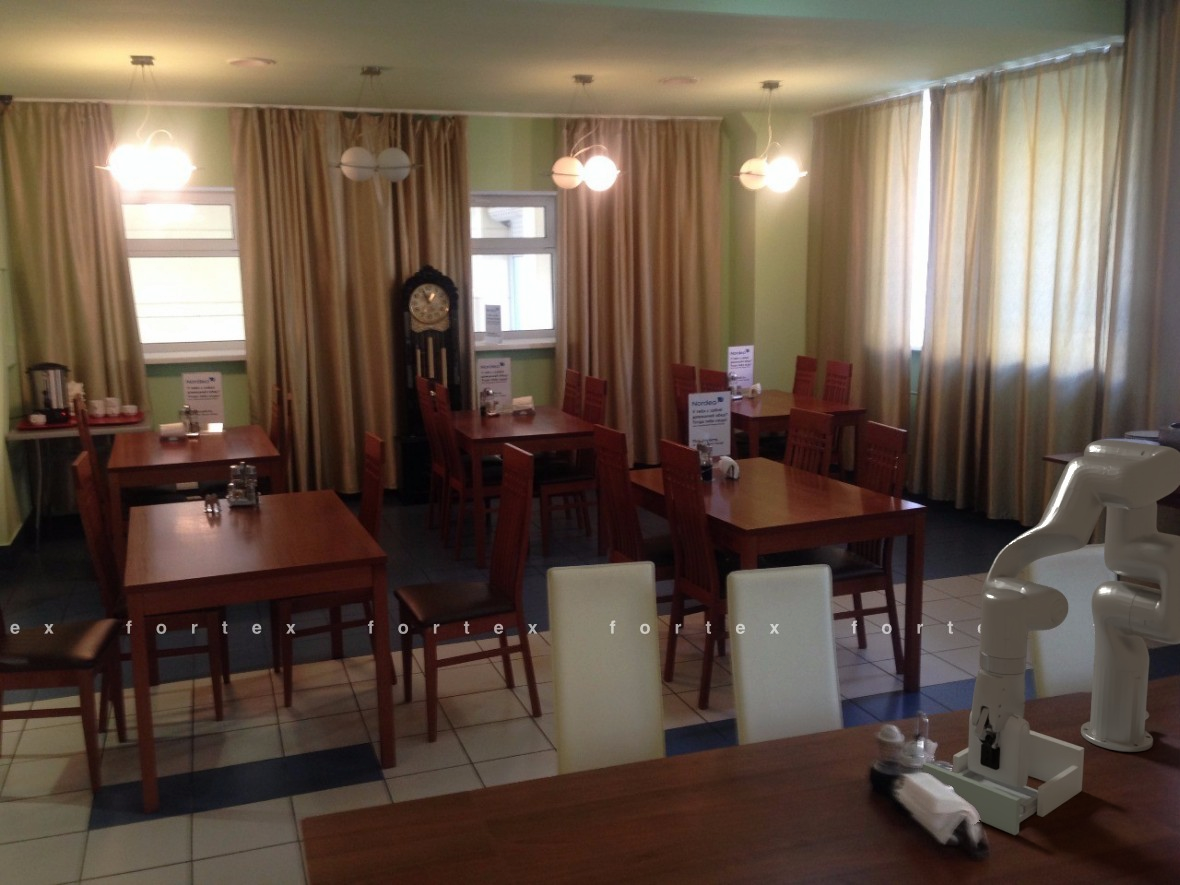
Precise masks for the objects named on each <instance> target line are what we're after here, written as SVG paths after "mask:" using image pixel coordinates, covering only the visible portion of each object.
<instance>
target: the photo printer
mask: <svg viewBox="0 0 1180 885" xmlns="http://www.w3.org/2000/svg"><path fill="white" fill-rule="evenodd" d="M971 715H972V710H971V711H970V714H969V719H968V720H969V721H968V722H969V723H968V747H967V748H968V769H969V770H971V771H973V772H976V773H978V774H981V775H983V776H986V777H989V778H991V779H994V780H997V781H1000V782H1002V783H1005V784H1008V785H1011V786H1014V787H1024V786H1028V785H1027V784H1028V780H1029V776H1028V761H1029V736H1030V730H1031V729H1030V728H1031V727H1030V723H1029V722H1028V721H1027V719H1025V718H1024V717H1023V718H1022V717H1020V716H1019V715H1017V714H1013V716H1012V715H1011V716H1010V717H1009V719H1008V721H1007V723H1006V725H1005V728H1004V730H1002V731H1000V736H999V742H998V747H999V748H1000V763H999V769H998V770H994V769H991V768H989V767H986V766H983V765H981V763H980V759H981V744H980V740H979V738H978V737H977V736H975V735H974V732H975V729H976V726H974V725H973V724H972V722H971ZM988 726H989V727H992V725H990V724H988ZM987 734H988V735H990V736H991V737H992V738H993V734H994V733H992V732H989V731H988V732H987Z"/></svg>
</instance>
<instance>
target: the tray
mask: <svg viewBox="0 0 1180 885" xmlns="http://www.w3.org/2000/svg"><path fill="white" fill-rule="evenodd" d="M922 768H923V770H922V771H924V772H926V773H929V774H931V775H933V776H935V777H936V778H937V779H939V780H941V781H942V782H943V783H945V784H947V785H950V786H952V787H953V788H954V790H955V792H956V793H957V794H958V795H959V796H961V797H962V798H964V799H965V800H966V801H968V802H969V803H970V804H972V805H973V806H974V807H975V808H976V810H977V811H978V813H979V815H980V818H981V821H980V822H982V823H985V824H987V825H989V826H992V827H994V828H997V829H999V830H1001V831H1004V832H1006V833H1009V834H1010V835H1013V836H1016V835H1018V834H1019V833H1020V824H1021V822H1023V821H1024V820H1026V819H1028V818H1029V817H1030V816H1032V815H1034V814H1035V813H1037V803H1038V789H1035V788H1033V787H1029V786H1028V785H1026V786H1024V787H1014V786H1011V785H1008V784H1005V783H1002V782H1000V781H997V780H994V779H991V778H989V777H986V776H983V775H981V774H978V773H976V772H973V771H971V770H969V769H968V768H967V769H965V770H964V771H962V772H960V773H958V774H956V773H954V772H953V771H950V770H949V769H946V768H943V767H940V766H938V765H936V764H933V763H930V762H928V763H926V762H924V763H922Z"/></svg>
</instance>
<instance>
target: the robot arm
mask: <svg viewBox="0 0 1180 885" xmlns="http://www.w3.org/2000/svg"><path fill="white" fill-rule="evenodd" d="M1179 486H1180V451H1179V450H1178V449H1176V448H1173V447H1171V446H1165V445H1160V444H1159V445H1157V444H1149V443H1148V444H1147V443H1138V442H1132V441H1124V440H1115V439H1098V440H1095V441H1092V442H1090V443H1089V444H1087V445H1086V447H1085V449H1084V451H1083V456H1077V457H1075V458H1073V459H1071V460H1069V461H1068V463H1067V464H1066V465H1065V467H1064V469H1063V472H1062V474H1061V476H1060V478H1059V479H1058V482H1057V484H1056V486H1055V489H1054V490H1053V492H1052V495H1051V497H1050V499H1049V501H1048V503H1047V505H1046V507H1045V509H1044V512H1043V514H1042V516H1041V519H1040V520H1039V522H1038V524H1036V525H1035V526H1034V527H1032V528H1030V529H1027V531H1025V532H1023V533H1021V534H1020V535H1019V536H1016V538H1014V539H1013V540H1011V541H1010V542H1009V543H1008V544H1007V545H1005V546H1004V547H1003V548H1002V549H1001V550H1000V551H999V552H998V554H997V555H996V557H995V558H994V560H993V562H992V563H991V566H990V568H989V571H988V572H987V575H986V576H985V580H984V582H983V584H982V588H981V592H980V593H981V594H980V600H981V601H980V602H981V608H980V610H981V611H980V627H979V628H980V629H979V630H980V631H979V648H978V649H979V650H978V669H979V670H978V671H977V674H976V678H975V683H974V689H973V695H972V696H973V697H972V706H971V711H972V715H971V722H972V724H973V725H974V726H976V729H975V732H974V735H975V736H977V737H978V738H979V740H980V744H981V759H980V763H981V765H983V766H986V767H989V768H991V769H994V770H998V769H999V763H1000V748H999V747H998V742H999V736H1000V731H1002V730H1004V728H1005V725H1006V723H1007V721H1008V719H1009V717H1010V716H1011V715H1012V716H1013V714H1017V715H1019V716H1020V717H1022V718H1023V719H1024V716H1025V715H1024V714H1025V707H1026V679H1025V677H1026V676H1025V675H1026V672H1027V652H1028V635H1029V632H1035V631H1036V632H1037V631H1047V630H1048V631H1049V630H1050V631H1051V630H1053V629H1055V628H1057V627H1059V626H1060V625H1062V623H1063V622H1064V621H1065V619H1066V618H1067V616H1068V614H1069V613H1068V612H1069V602H1068V599H1067V597H1066V596H1065V595H1064V594H1063V593H1062V592H1061V591H1060V590H1058V589H1057V588H1055V587H1051V586H1048V585H1044V584H1041V583H1040V584H1039V583H1036V582H1033V581H1029V580H1023V579H1020V578H1018V576H1019V574H1020V573H1021V572H1022V571H1023V570H1024V569H1025V568H1026V567H1027V566H1028V565H1030V564H1032V563H1033V562H1036V561H1038V560H1040V559H1043V558H1046V557H1047V558H1048V557H1051V556H1055V555H1060V554H1065V553H1070V552H1073V551H1078V550H1080V549H1082V548H1083V549H1084V547H1085V546H1087V545H1088V543H1089V541H1090V538H1091V536H1092V534H1093V532H1094V530H1095V527H1096V525H1097V523H1098V521H1099V519H1100V516H1101V515H1102V514H1101V513H1102V512H1103V510H1104V508H1106V520H1105V521H1106V522H1105V530H1104V531H1105V532H1104V534H1105V535H1104V551H1103V552H1104V554H1103V555H1104V556H1103V558H1104V564H1105V567H1106V568H1107V569H1108V570H1109V571H1110V572H1112V573H1114V574H1116V575H1119V576H1123V577H1126V578H1131V579H1135V580H1140V581H1145V582H1147V583H1149V582H1150V583H1152V584H1157V585H1159V588H1160V589H1158V588H1153V587H1149V586H1146V585H1141V584H1138V583H1137V584H1136V583H1132V582H1130V581H1129V582H1128V581H1123V580H1122V581H1120V580H1109V581H1105V582H1103V583H1100V584H1099V585H1098V586H1097V587H1096V588H1095V589H1094V591H1093V594H1092V598H1091V612H1092V613H1091V614H1092V620H1093V628H1094V656H1093V667H1092V668H1093V671H1092V688H1091V702H1090V704H1091V705H1090V707H1091V708H1090V720H1089V721H1087V722H1085V723H1083V724H1082V725H1081V727H1080V733H1081V736H1082V737H1083V738H1084V740H1086V741H1088V742H1089V743H1092V744H1093V745H1096V746H1098V747H1101V748H1104V749H1107V750H1113V751H1117V752H1125V753H1127V752H1128V753H1136V752H1138V753H1139V752H1143V751H1144V752H1145V751H1147V750H1149V749H1151V748H1152V747H1153V744H1154V738H1153V736H1152V735H1151V734H1150V733H1149V732H1148V731H1147V730H1145V727H1146V726H1145V725H1146V720H1147V719H1148V718H1149V717H1150V714H1149V712H1148V711H1147V698H1148V697H1147V696H1148V682H1149V669H1150V655H1149V650H1148V647H1147V644H1146V642H1145V641H1144V638H1145V639H1148V640H1152V641H1154V642H1155V641H1156V642H1158V643H1159V642H1160V643H1165V644H1170V645H1178V644H1180V535H1176V534H1172V533H1164V532H1160V531H1158V529H1157V528H1158V527H1157V523H1158V522H1157V520H1158V519H1157V518H1158V515H1157V514H1158V504H1157V501H1159V500H1161V499H1163V498H1165V497H1167V496H1169V495H1170V494H1172V493H1173V492H1174V491H1176V490H1177V488H1179ZM988 724H990V725H992V727H989V726H988ZM988 731H989V732H992V733H994V734H993V738H992V737H991V736H990V735H988V734H987V732H988Z"/></svg>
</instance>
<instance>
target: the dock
mask: <svg viewBox="0 0 1180 885" xmlns="http://www.w3.org/2000/svg"><path fill="white" fill-rule="evenodd" d="M1084 755H1085V748H1084V747H1082V746H1079V745H1076V744H1073V743H1070V742H1068V741H1064V740H1061V739H1059V738H1055V737H1052V736H1049V735H1046V734H1042V733H1041V732H1040V733H1039V732H1037V731H1034V730H1031V729H1030V736H1029V761H1028V777H1031V778H1034V779H1036V780H1039V781H1041V782H1044V783H1043V784H1041V785H1039V786H1038V787H1037V790H1038V803H1037V812H1036V815H1037V816H1039V817H1041V818H1043V817H1045V816H1046V815H1048V814H1049V813H1051V812H1053V811H1054V810H1055V809H1057V808H1058V807H1060V806H1061V805H1062V804H1064V803H1066V802H1067V801H1069V800H1070V799H1072V798H1073V797H1074V796H1076V795H1078V794H1079V793H1080V792H1082V789H1083V775H1084V757H1085V756H1084ZM952 756H953V757H952V772H954V773H956V774H958V773H960V772H962V771H964V770H965V769H967V768H968V747H966V748H964V749H962V750H961V751H959V752H957V753H955V754H953V755H952Z"/></svg>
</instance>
